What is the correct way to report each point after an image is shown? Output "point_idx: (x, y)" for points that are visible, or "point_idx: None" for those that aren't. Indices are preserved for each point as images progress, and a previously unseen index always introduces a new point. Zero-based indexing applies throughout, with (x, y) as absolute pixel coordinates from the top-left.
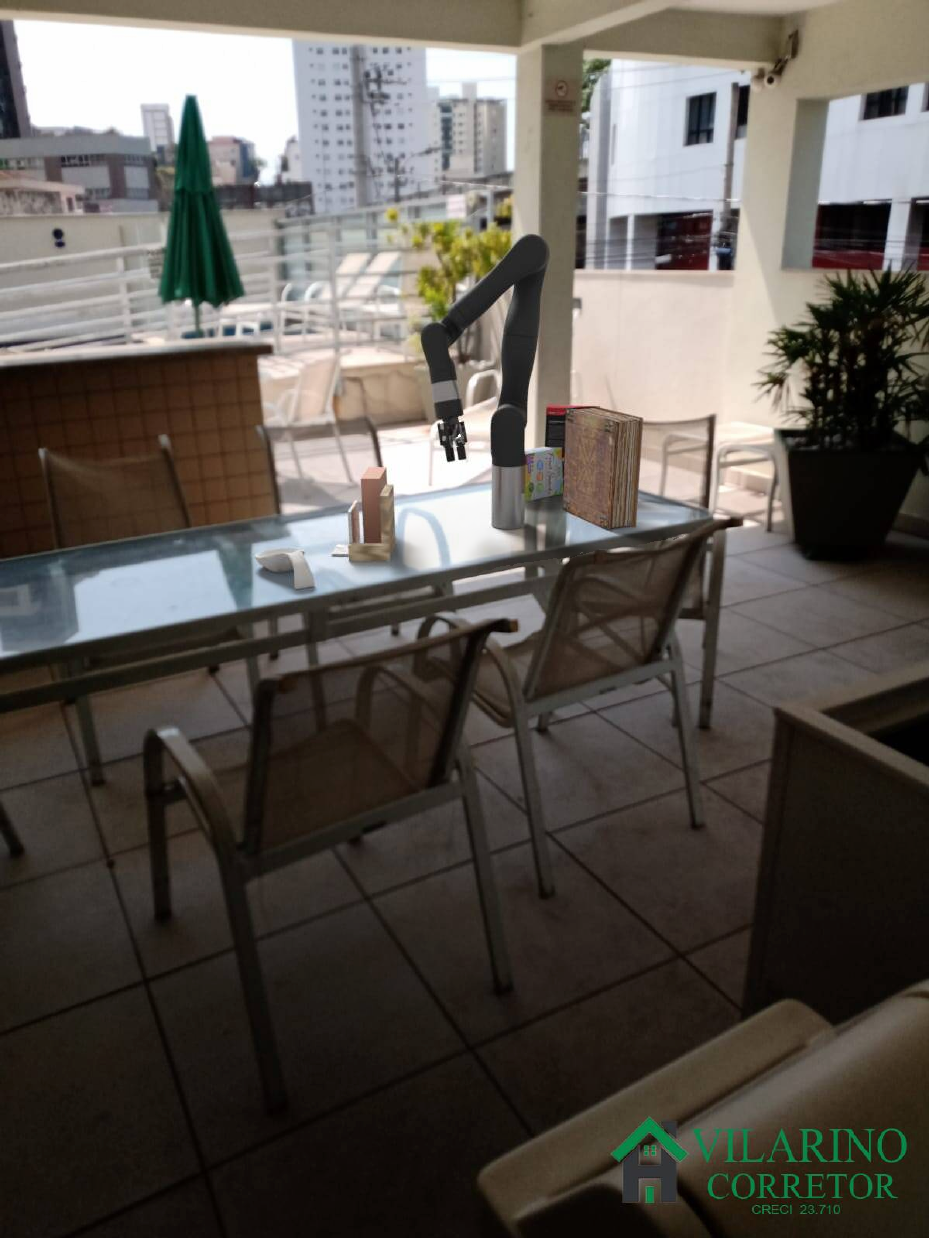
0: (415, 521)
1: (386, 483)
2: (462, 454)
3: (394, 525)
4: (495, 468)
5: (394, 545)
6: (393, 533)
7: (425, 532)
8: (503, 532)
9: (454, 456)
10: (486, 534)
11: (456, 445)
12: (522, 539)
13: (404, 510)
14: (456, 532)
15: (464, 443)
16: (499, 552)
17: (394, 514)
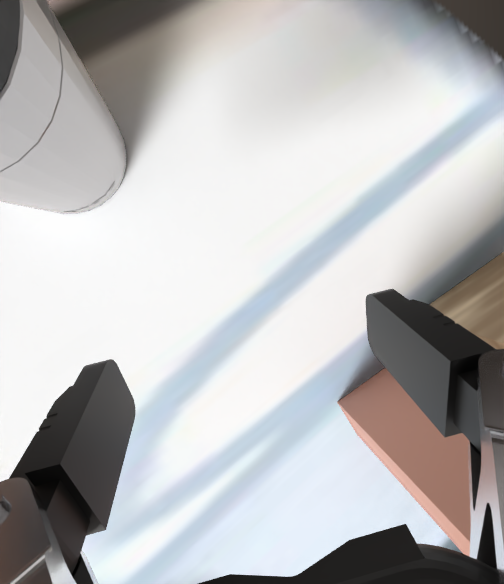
0: (211, 424)
1: (453, 501)
2: (107, 407)
3: (466, 323)
4: (27, 70)
5: (437, 303)
6: (476, 303)
7: (289, 327)
8: (154, 119)
9: (393, 305)
10: (208, 159)
11: (82, 557)
12: (189, 14)
13: (129, 532)
14: (241, 254)
15: (8, 499)
16: (347, 22)
17: (487, 337)
